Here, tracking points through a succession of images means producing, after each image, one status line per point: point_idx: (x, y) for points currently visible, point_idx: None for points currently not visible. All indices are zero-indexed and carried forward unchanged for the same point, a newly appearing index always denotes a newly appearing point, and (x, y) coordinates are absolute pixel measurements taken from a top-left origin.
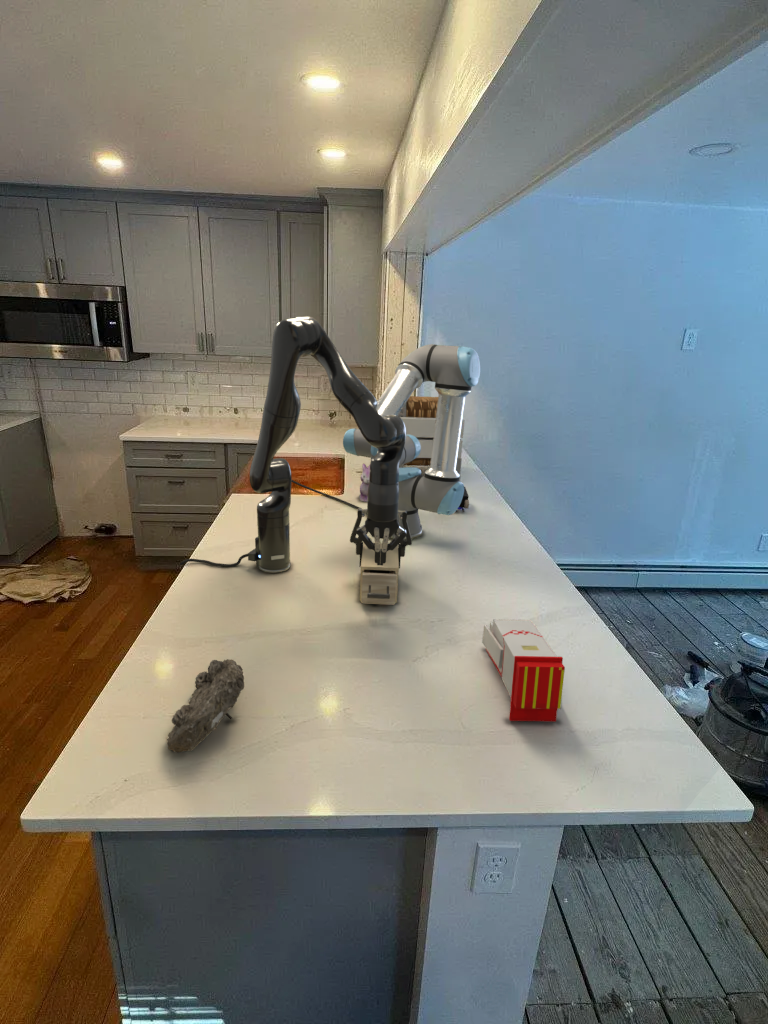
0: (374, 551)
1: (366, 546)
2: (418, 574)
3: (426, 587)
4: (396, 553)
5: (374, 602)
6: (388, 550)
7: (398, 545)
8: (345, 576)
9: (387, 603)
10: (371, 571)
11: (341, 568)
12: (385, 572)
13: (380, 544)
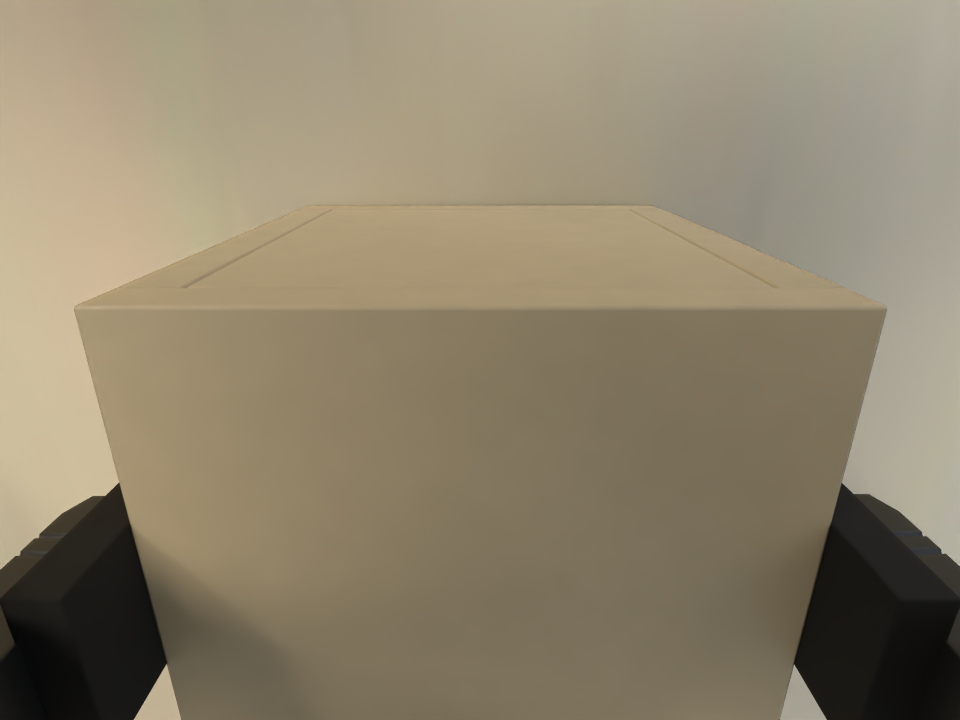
0: (376, 675)
1: (193, 509)
2: (905, 133)
3: (897, 403)
4: (752, 711)
5: None
6: (627, 627)
7: (873, 678)
8: (148, 257)
9: None
10: None
11: (47, 60)
12: None
13: (475, 386)
